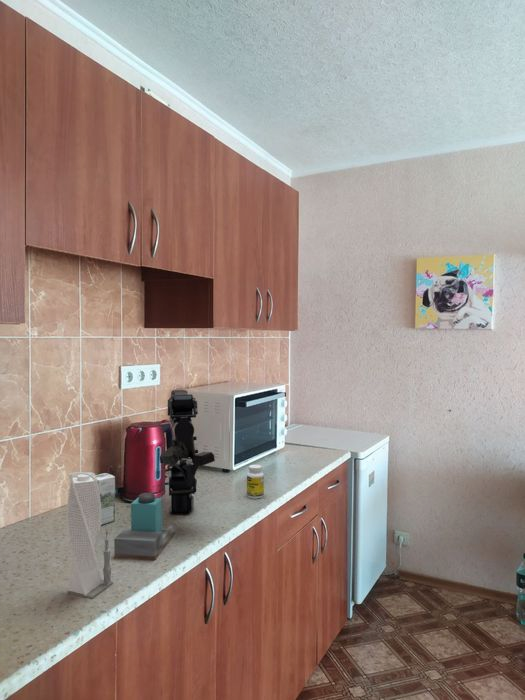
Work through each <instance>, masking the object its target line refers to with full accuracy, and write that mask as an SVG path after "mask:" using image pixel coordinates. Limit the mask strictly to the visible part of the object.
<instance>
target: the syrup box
mask: <svg viewBox="0 0 525 700" xmlns="http://www.w3.org/2000/svg"><path fill="white" fill-rule="evenodd" d="M95 478H96V480H97V483H98V488H99V494H100V501H101V526H104V525H107V524H111V523H112V522H115V521H116V477H115V475H113V474H110V473H107V472H104V473H100V474H95Z"/></svg>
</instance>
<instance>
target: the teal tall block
mask: <svg viewBox="0 0 525 700" xmlns="http://www.w3.org/2000/svg"><path fill="white" fill-rule="evenodd" d="M162 501H163V499H162V498H158V497H157V498H155V493H153V492H143V493H140V494H138V497H136V499H135V500H133V501H132V502H131V503H130V520H131V521H130V522H131V524H130V527H131V528H130V530H137V531H155V532H162V530H163V510H162V509H163V504H162V503H163V502H162Z"/></svg>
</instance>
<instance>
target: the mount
mask: <svg viewBox="0 0 525 700" xmlns="http://www.w3.org/2000/svg"><path fill="white" fill-rule="evenodd" d="M175 535H176V523H170V524H169V525H168V527H167V528H166V529H162V532H155V531H137V530H131V529H123V530H122V531H121V532H119V534H118V535H117V536H115V538H114V543H113V544H114V558H115V559H131V560H147V561H156V560H157V558H158V557H159V555H160V554H161V553H162V552H163V550H164V549H165V548H166V547H167V545H168V544H169V542H171V539H172V538H173V537H174V536H175Z"/></svg>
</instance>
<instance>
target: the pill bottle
mask: <svg viewBox="0 0 525 700" xmlns="http://www.w3.org/2000/svg"><path fill="white" fill-rule="evenodd" d="M264 477H265V473H264V472H263V466H262V465H260V464H251V465H249V466H248V472H247V473H246V496H247V497H248V498H249V499H252V500H253V499H254V500H257V499H258V498H259V499H261V498H263V497H264V495H265V494H264V493H265V488H264V487H265V484H264V483H265V479H264Z"/></svg>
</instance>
